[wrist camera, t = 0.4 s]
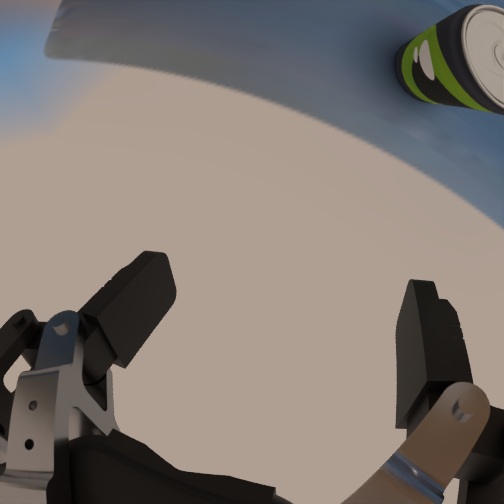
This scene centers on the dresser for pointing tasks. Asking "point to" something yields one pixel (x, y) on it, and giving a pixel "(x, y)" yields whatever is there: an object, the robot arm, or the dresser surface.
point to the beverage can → (458, 61)
